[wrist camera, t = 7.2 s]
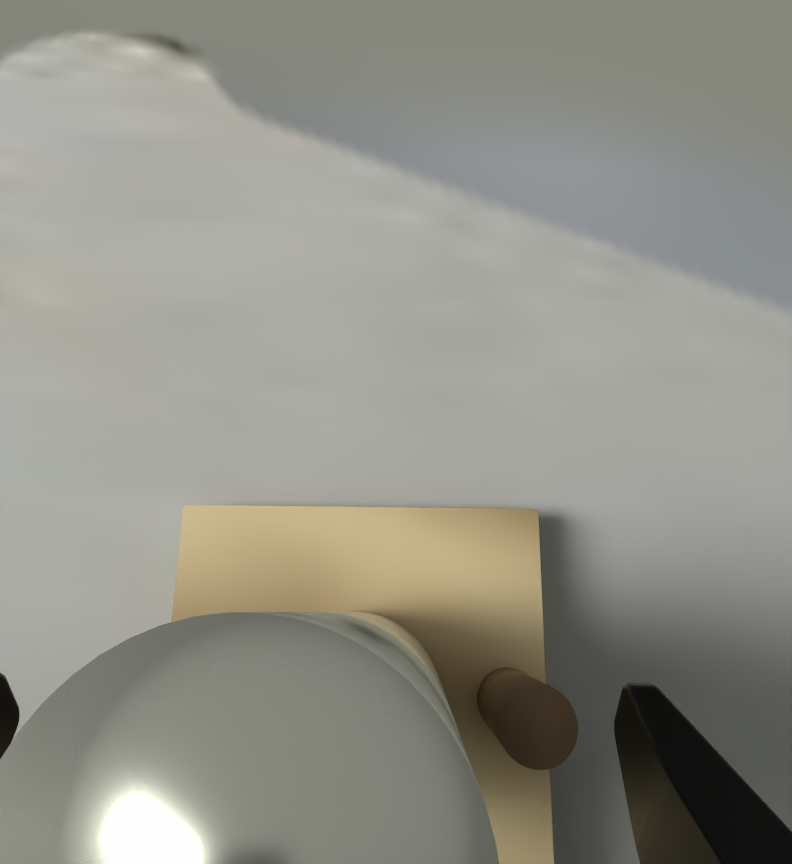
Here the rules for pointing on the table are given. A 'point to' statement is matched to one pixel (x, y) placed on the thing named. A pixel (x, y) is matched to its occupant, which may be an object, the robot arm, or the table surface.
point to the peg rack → (414, 621)
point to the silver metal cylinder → (247, 751)
